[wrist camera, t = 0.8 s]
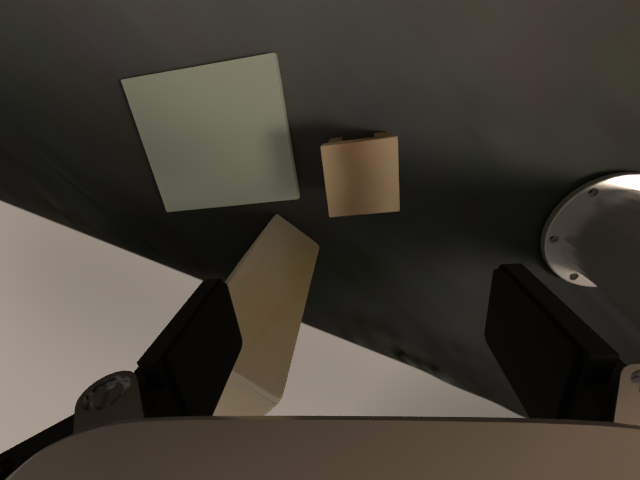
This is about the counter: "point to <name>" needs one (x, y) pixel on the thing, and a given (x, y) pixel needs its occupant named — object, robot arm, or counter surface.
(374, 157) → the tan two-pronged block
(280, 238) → the beige block
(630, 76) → the counter surface
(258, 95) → the sage mat
